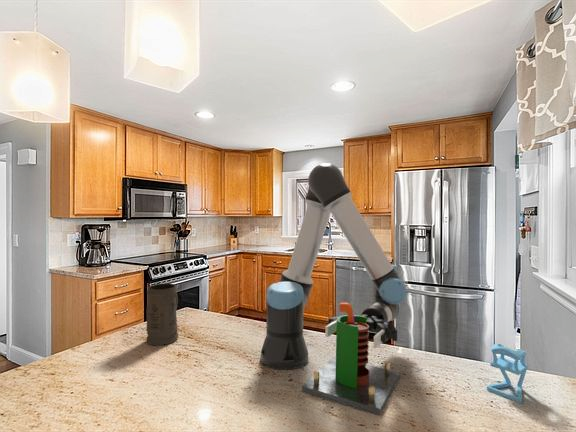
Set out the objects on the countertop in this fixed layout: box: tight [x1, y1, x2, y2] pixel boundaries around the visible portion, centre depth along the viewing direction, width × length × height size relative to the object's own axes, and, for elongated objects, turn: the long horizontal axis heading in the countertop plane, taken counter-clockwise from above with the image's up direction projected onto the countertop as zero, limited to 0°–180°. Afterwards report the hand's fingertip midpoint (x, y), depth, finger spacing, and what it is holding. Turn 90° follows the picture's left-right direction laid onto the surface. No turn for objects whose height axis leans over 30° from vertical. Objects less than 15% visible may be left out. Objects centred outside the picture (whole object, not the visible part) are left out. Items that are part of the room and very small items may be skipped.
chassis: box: [301, 356, 401, 417], centre depth 88 cm, size 20×21×4 cm
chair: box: [486, 343, 529, 403], centre depth 85 cm, size 8×8×12 cm
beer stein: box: [146, 283, 179, 346], centre depth 120 cm, size 15×11×20 cm
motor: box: [335, 302, 370, 388], centre depth 88 cm, size 10×9×20 cm
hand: (349, 336), depth 86 cm, fingers open, 13 cm apart
